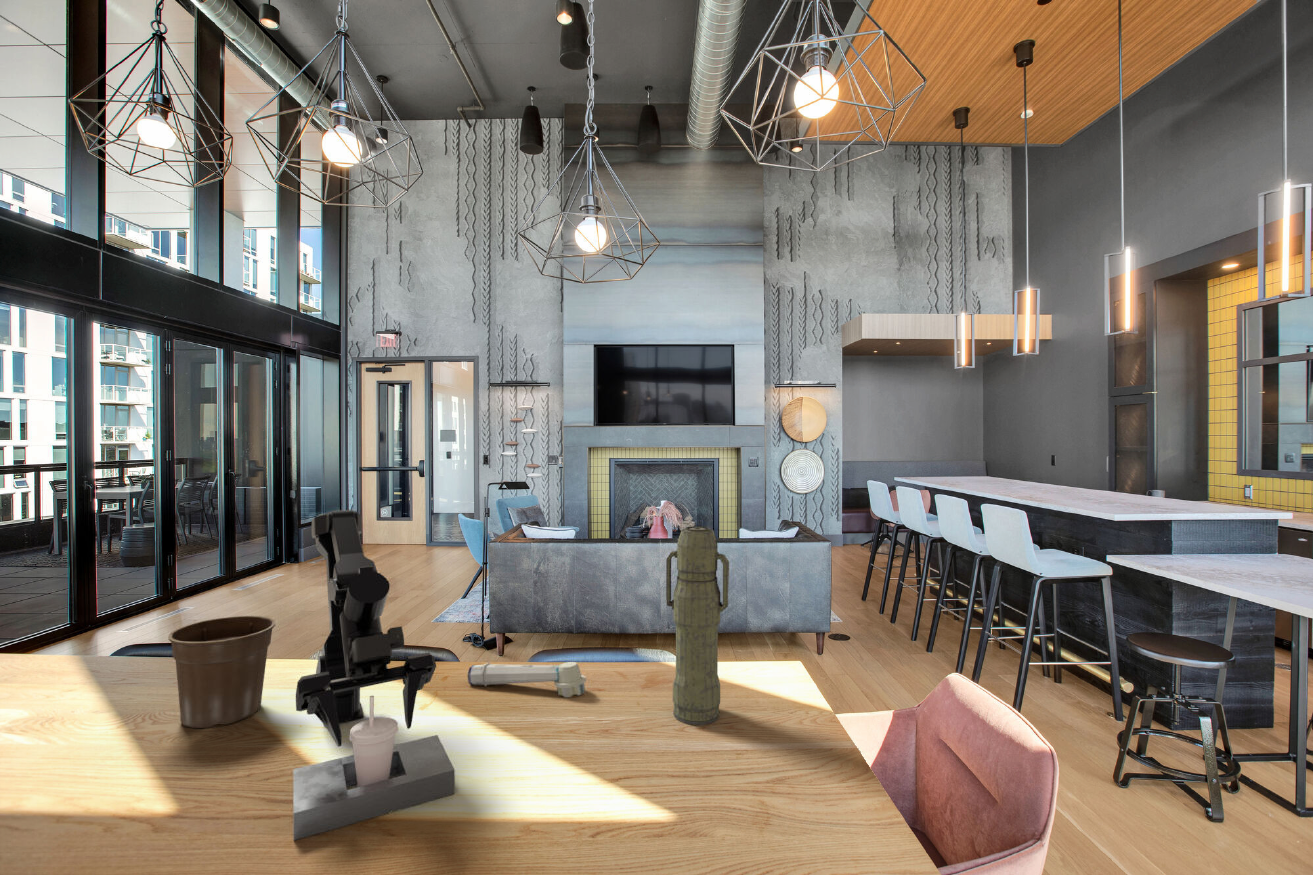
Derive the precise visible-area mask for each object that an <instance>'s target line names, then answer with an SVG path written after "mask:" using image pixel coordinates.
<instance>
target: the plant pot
mask: <svg viewBox="0 0 1313 875" xmlns="http://www.w3.org/2000/svg"><path fill="white" fill-rule="evenodd" d="M275 626H276V621H275V619H274V618H272V617H267V616H262V615H237V616H236V615H235V616H226V617H219V618H212V619H205V620H202V621H201V620H200V621H197V622H194V623H190V624H187V625H185V626H182V627H178V628H176V629H175V630H173V631H171V632H170V633H169V634H168V635H167V638H168V641H169V642H170V643H171V648H172V649H171V650H172V657H173V658H172V659H174V660H175V669H176V680H177V690H178V691H177V692H178V701H179V702H178V704H179V705H178V706H179V713H180V714H179V716H180V717H179V718H180V723H181V724H182V725H183V726H185V727H189V728H193V729H206V728H207V729H208V728H212V727H214V726H215V725H219V724H222V725H224V726H227V725H230V724H233V723H236V722H239V721H242V720H244V719H246V718H247V719H248V718H249V717H251V716H252V715H254V714H256V713H257V712H258V711H259V709H260V708H261V705H262V700H263V699H262V697H263V692H264V691H263V689H264V682H265V674H266V665H267V658H268V656H267V655H268V648H269V646H270V645H271V642H272V641H271V640H272V635H273V634H272V633H273V629H274V628H275Z"/></svg>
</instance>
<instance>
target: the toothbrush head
mask: <svg viewBox="0 0 1313 875" xmlns="http://www.w3.org/2000/svg"><path fill="white" fill-rule="evenodd" d="M466 676H467V683H468V684H469V685H471V686H472V685H473V686H484V687H488V686H489V685H506V684H507V685H508V684H524V683H525V684H526V683H527V684H529V683H546V682H547V683H548V682H549V683H550V682H554V686H555V688H556V691H557V694H558V696H563V698H572V696H574V695H576V696H580V695H584V693H585V692H586V687H585V686H586V685H585V682H587V678H586V676H585V675H583V674H582V673H581V669H580V666H579V665H578V663H577V662H575V661H568V662H563V663H561V664H559V665H557V664H556V665H555V664H553V665H551V664H549V665H548V664H495V663H493V664H491V663H490V662H487V663H485V664H473V665H471V666H470V667H469V669H468V672H467V674H466ZM487 685H488V686H487Z"/></svg>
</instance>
